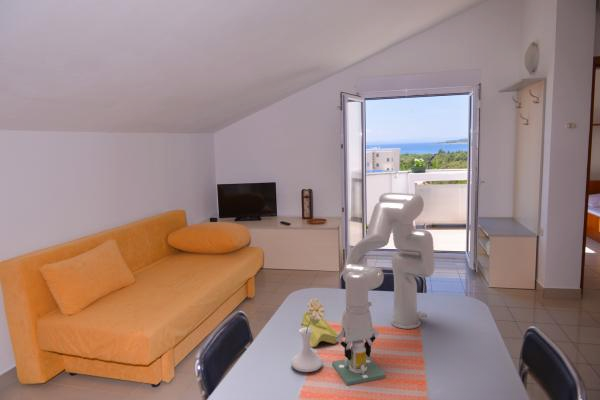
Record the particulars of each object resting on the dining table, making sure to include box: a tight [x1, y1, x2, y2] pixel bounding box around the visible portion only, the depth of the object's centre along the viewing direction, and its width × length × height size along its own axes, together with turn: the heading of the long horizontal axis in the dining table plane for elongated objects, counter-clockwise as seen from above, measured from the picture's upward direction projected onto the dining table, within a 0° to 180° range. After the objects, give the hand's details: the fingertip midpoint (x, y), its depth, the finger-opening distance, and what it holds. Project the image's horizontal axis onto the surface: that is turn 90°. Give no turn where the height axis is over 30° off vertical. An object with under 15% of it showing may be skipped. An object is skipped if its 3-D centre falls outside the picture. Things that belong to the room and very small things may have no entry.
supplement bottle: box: [350, 340, 366, 371], centre depth 152 cm, size 5×5×10 cm
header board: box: [331, 355, 387, 386], centre depth 152 cm, size 14×14×4 cm
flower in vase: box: [290, 297, 326, 373], centre depth 155 cm, size 13×11×25 cm
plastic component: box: [301, 311, 339, 348], centre depth 180 cm, size 20×7×10 cm
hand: (357, 356), depth 152 cm, fingers open, 6 cm apart
